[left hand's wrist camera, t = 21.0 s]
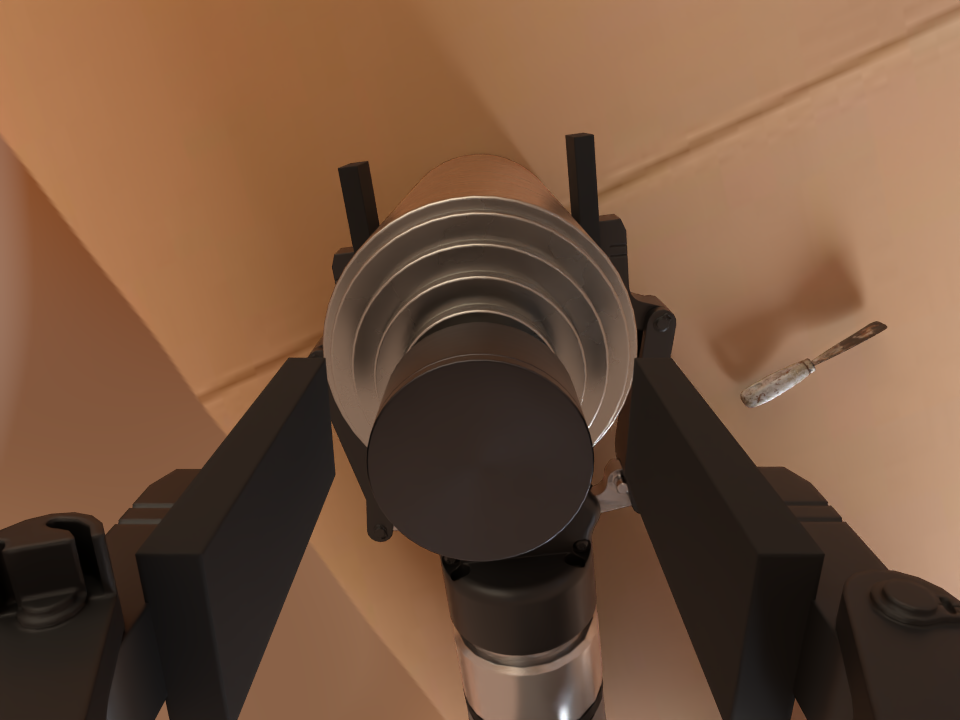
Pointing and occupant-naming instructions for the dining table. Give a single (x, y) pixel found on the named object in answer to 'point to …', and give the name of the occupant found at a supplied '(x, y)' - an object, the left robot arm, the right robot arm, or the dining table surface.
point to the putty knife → (802, 369)
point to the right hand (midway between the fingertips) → (465, 150)
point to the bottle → (480, 287)
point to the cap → (480, 444)
